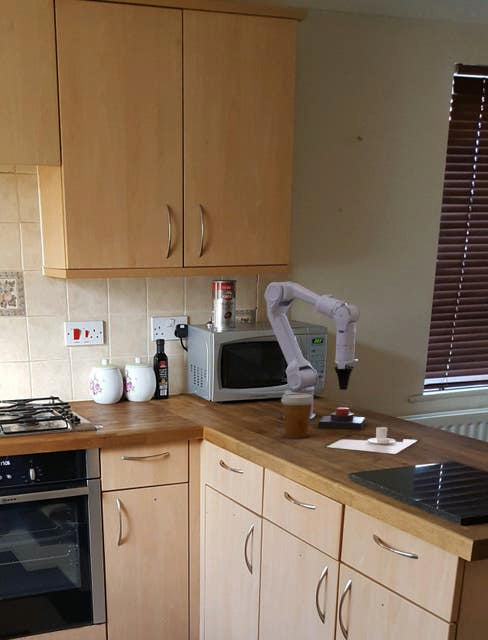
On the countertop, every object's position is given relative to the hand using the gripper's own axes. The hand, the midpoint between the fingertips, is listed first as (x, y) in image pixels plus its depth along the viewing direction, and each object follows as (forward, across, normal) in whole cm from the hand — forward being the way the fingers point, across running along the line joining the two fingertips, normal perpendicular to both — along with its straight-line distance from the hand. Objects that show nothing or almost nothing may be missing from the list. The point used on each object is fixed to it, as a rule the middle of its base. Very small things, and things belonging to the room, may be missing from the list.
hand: (343, 389), depth 277 cm
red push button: (+7, -7, -1) cm, 10 cm away
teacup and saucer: (+11, -31, -13) cm, 35 cm away
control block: (+10, -7, -1) cm, 13 cm away
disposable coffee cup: (+11, -25, +10) cm, 29 cm away
